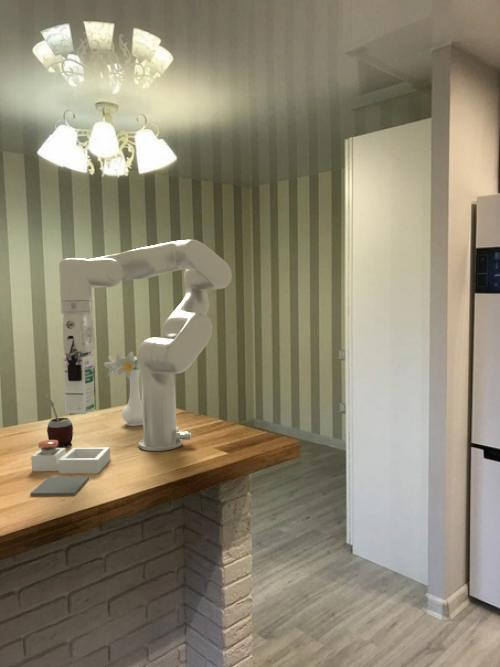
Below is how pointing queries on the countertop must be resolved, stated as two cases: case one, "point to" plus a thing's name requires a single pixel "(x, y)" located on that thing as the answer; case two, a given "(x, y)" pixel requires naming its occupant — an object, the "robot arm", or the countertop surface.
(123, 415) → the flower vase
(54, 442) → the copper rounded piece
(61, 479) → the mat
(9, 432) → the countertop surface
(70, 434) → the mate gourd
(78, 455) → the housing
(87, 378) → the syrup box
